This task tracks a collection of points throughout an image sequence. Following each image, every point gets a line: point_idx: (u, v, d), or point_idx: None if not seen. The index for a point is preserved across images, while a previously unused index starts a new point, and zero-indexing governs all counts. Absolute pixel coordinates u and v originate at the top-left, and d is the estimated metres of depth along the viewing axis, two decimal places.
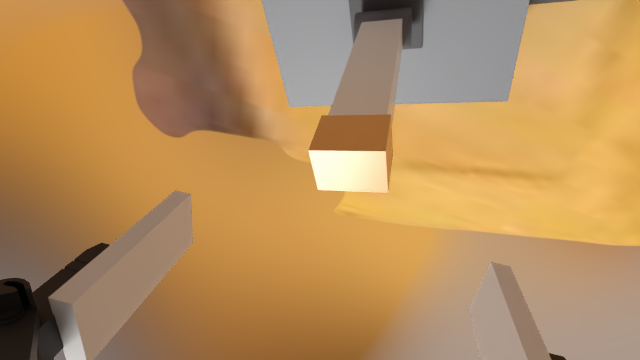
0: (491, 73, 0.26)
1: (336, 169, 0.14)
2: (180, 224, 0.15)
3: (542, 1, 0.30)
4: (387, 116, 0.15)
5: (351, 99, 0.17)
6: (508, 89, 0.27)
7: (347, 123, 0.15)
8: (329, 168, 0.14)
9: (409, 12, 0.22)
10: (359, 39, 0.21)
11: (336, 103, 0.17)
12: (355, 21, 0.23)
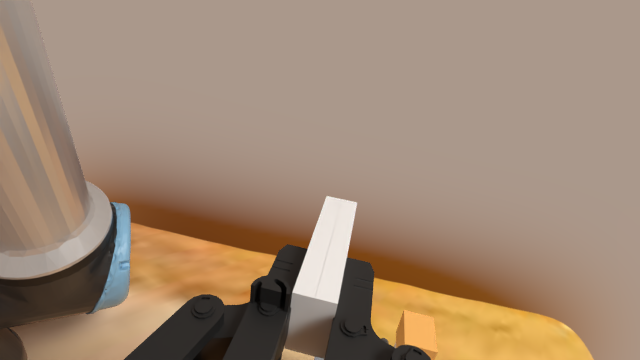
0: None
1: (418, 335, 0.25)
2: None
3: None
4: (396, 331, 0.28)
5: None
6: None
7: (398, 345, 0.26)
8: (418, 338, 0.24)
9: None
10: None
11: None
12: None
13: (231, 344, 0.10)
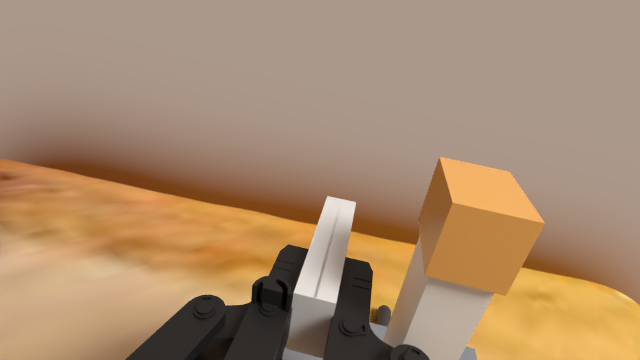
0: None
1: (484, 192, 0.10)
2: None
3: None
4: (419, 216, 0.12)
5: (414, 292, 0.11)
6: None
7: (427, 232, 0.11)
8: (484, 197, 0.09)
9: None
10: None
11: (417, 301, 0.11)
12: None
13: (232, 344, 0.10)
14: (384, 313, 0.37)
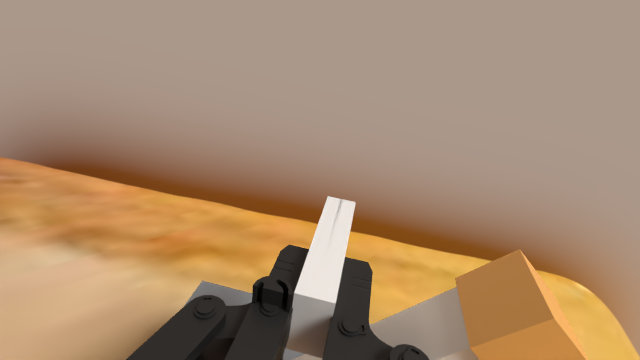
0: None
1: (557, 313, 0.10)
2: None
3: None
4: (459, 279, 0.13)
5: (424, 340, 0.12)
6: None
7: (480, 308, 0.11)
8: (560, 320, 0.10)
9: None
10: None
11: (433, 355, 0.11)
12: None
13: (233, 344, 0.10)
14: None
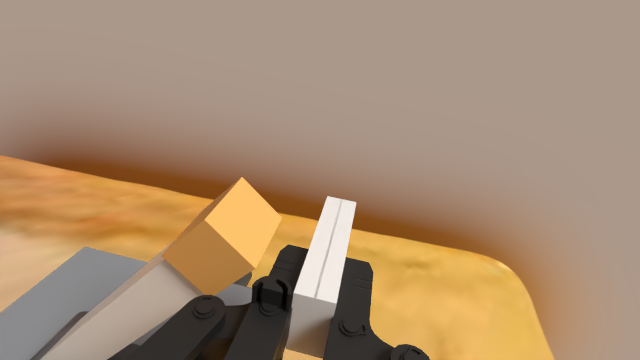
0: None
1: (240, 224, 0.12)
2: None
3: None
4: None
5: (158, 260, 0.13)
6: (242, 287, 0.26)
7: (191, 225, 0.13)
8: (235, 228, 0.12)
9: (80, 312, 0.19)
10: (67, 337, 0.16)
11: (150, 269, 0.13)
12: None
13: (232, 344, 0.10)
14: None
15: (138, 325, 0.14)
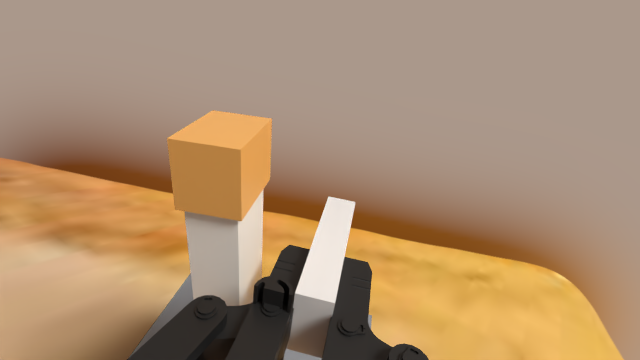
0: None
1: (214, 131, 0.11)
2: None
3: None
4: None
5: None
6: None
7: None
8: (209, 134, 0.11)
9: None
10: None
11: (189, 237, 0.12)
12: None
13: (234, 345, 0.10)
14: None
15: None
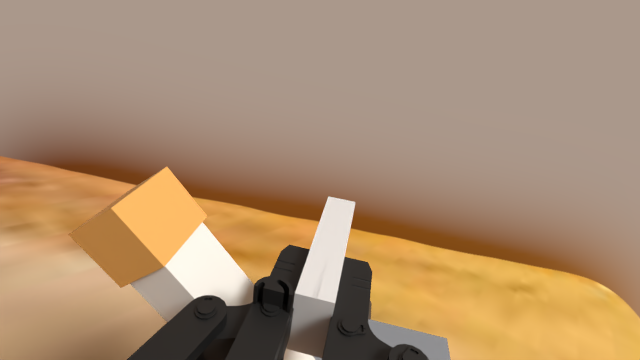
0: None
1: (108, 206, 0.12)
2: None
3: None
4: None
5: None
6: (432, 336, 0.25)
7: None
8: (102, 211, 0.12)
9: None
10: None
11: (156, 304, 0.13)
12: None
13: (234, 345, 0.10)
14: None
15: None
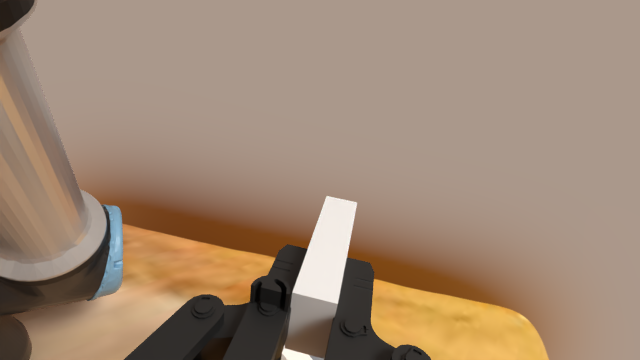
0: None
1: None
2: None
3: None
4: None
5: None
6: None
7: None
8: None
9: None
10: None
11: None
12: None
13: (231, 344, 0.10)
14: None
15: None
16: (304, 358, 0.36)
